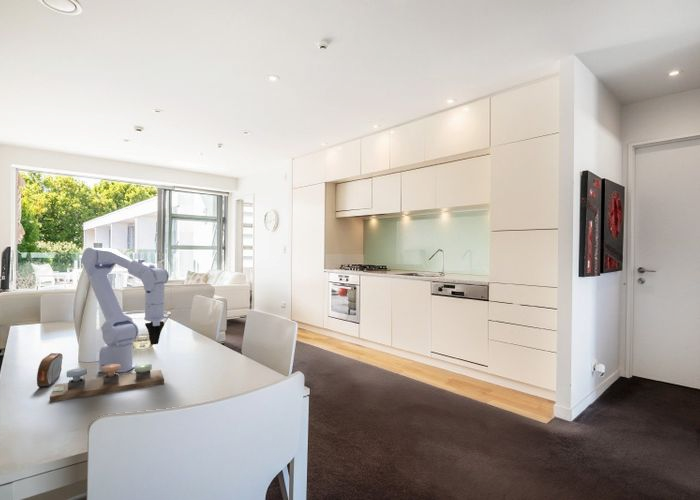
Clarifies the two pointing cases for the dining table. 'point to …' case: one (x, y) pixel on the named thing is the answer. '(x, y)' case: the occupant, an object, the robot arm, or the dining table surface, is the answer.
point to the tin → (49, 369)
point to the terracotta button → (111, 369)
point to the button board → (106, 385)
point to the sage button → (143, 368)
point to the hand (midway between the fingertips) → (154, 344)
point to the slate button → (76, 373)
